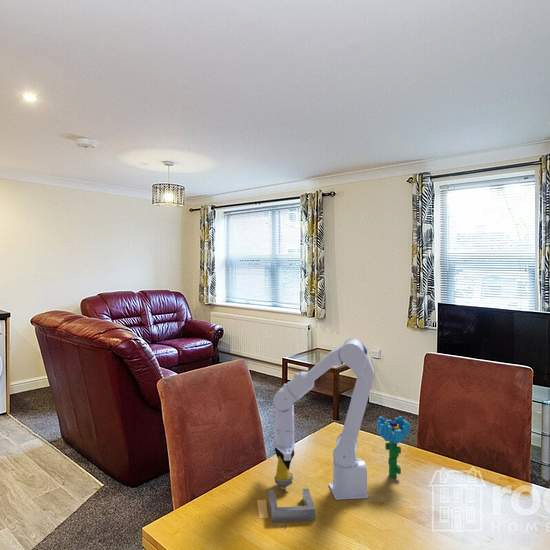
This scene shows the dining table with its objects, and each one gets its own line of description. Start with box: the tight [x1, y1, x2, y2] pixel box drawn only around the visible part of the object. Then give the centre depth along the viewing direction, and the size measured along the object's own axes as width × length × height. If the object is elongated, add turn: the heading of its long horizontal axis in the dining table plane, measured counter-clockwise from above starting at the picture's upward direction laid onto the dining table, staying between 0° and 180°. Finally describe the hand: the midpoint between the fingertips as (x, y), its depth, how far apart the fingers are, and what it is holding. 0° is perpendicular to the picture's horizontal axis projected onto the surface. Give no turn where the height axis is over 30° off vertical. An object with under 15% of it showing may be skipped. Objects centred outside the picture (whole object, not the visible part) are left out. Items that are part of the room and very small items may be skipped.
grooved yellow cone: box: [274, 456, 294, 490], centre depth 117 cm, size 5×5×10 cm
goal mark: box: [257, 499, 269, 519], centre depth 108 cm, size 2×8×1 cm, turn 6°
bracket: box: [268, 488, 316, 524], centre depth 107 cm, size 11×10×3 cm
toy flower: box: [376, 415, 411, 479], centre depth 124 cm, size 9×9×18 cm
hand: (284, 472), depth 121 cm, fingers closed
